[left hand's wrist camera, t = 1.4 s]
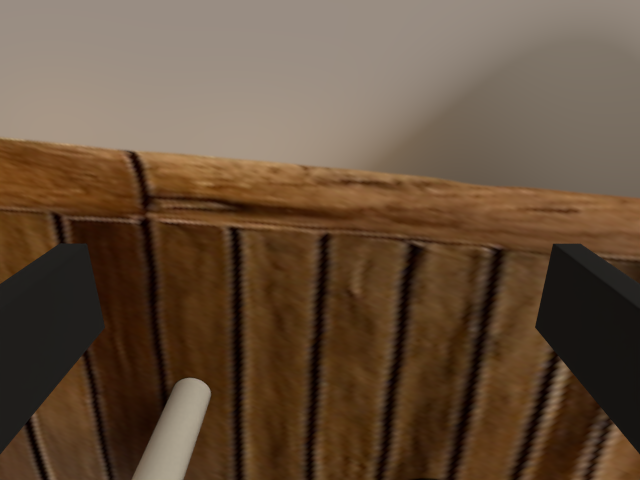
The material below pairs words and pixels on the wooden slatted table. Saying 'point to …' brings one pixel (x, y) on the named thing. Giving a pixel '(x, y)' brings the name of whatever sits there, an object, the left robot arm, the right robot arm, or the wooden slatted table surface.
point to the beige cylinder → (175, 433)
